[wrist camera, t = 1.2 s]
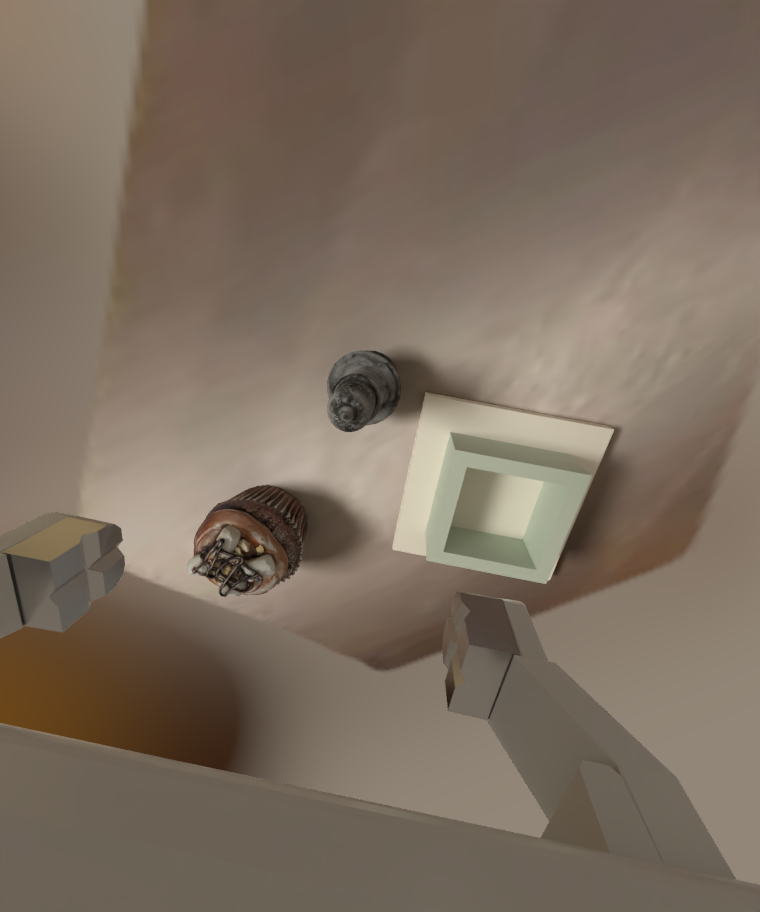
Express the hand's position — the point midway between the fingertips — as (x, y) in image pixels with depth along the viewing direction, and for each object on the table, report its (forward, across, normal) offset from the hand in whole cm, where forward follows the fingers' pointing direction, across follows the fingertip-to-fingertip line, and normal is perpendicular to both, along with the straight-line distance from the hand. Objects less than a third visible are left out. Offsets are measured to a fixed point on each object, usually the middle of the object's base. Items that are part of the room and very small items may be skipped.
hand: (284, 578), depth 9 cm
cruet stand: (+25, -12, +7) cm, 29 cm away
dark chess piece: (+25, +1, -1) cm, 25 cm away
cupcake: (+26, +9, +15) cm, 31 cm away
